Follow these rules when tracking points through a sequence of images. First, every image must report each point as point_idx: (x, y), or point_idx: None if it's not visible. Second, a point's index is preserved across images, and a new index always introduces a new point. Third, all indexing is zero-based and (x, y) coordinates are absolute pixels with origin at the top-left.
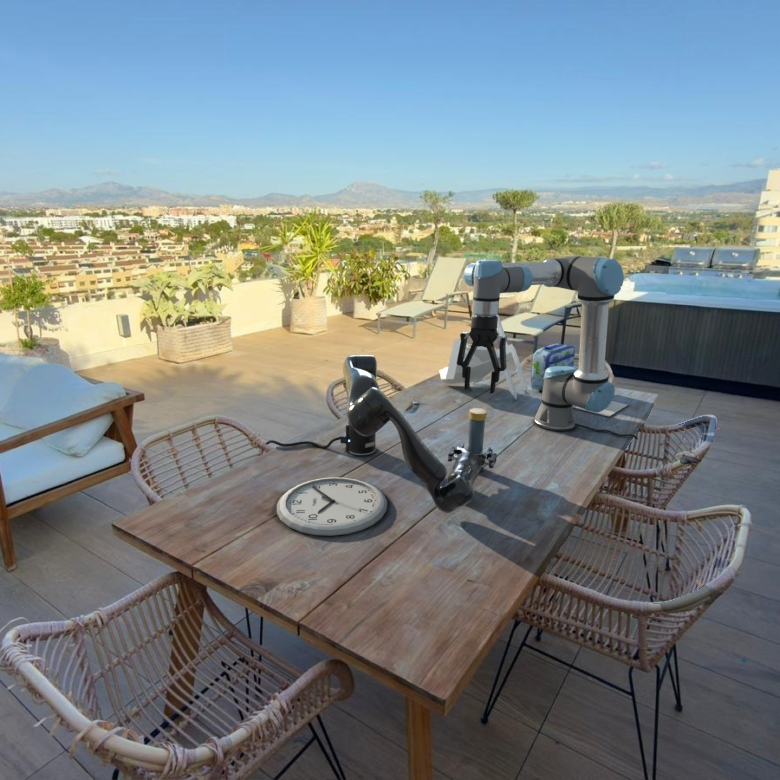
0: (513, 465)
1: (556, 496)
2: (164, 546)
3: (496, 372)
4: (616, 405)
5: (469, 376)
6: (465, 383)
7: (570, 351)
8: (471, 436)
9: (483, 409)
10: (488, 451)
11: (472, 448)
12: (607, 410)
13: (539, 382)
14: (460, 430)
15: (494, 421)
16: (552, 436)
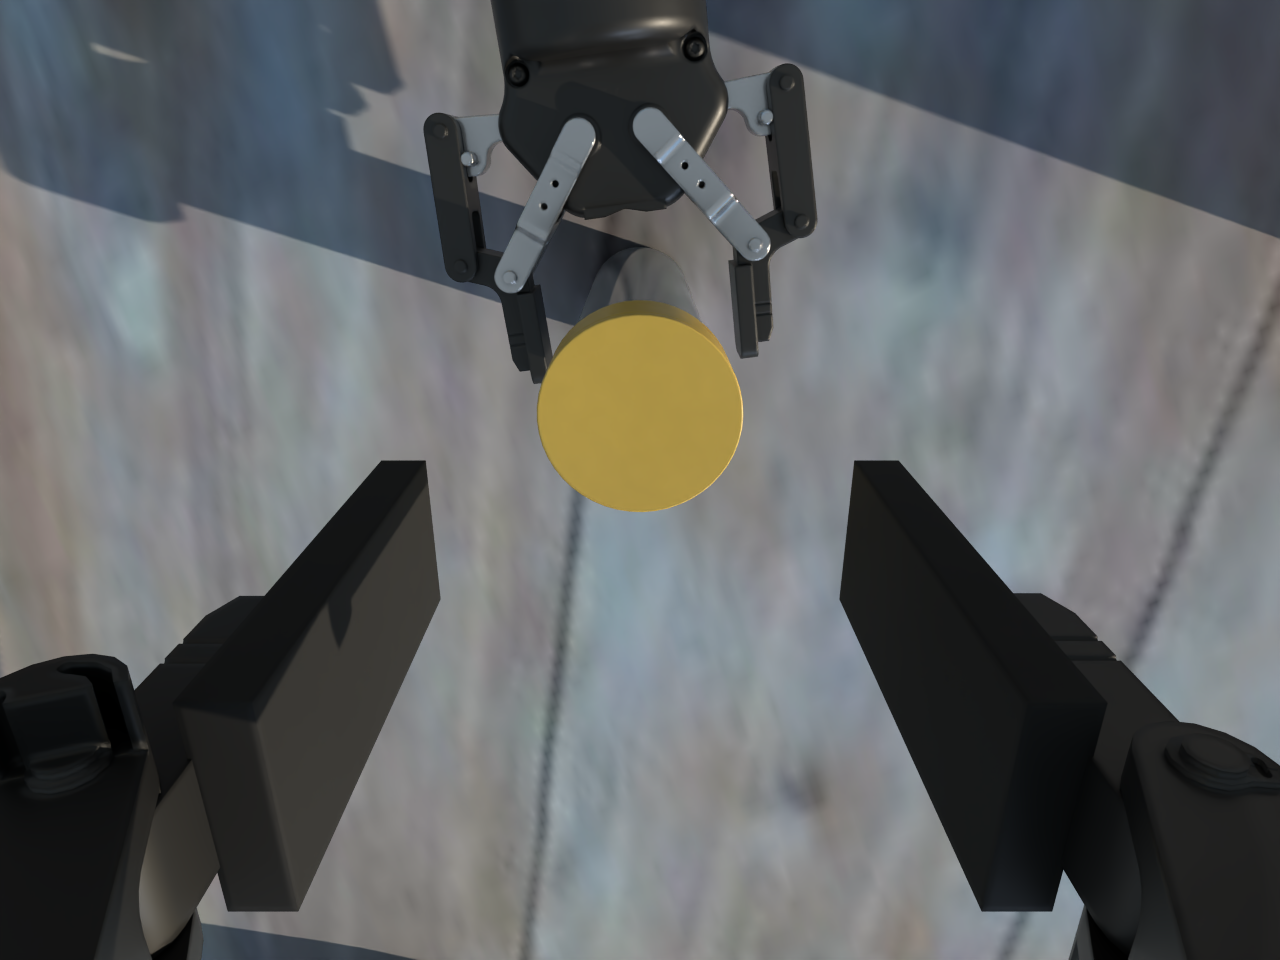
0: (439, 464)
1: (58, 167)
2: None
3: (39, 663)
4: None
5: (905, 693)
6: (917, 505)
7: None
8: (665, 286)
9: (600, 498)
10: (519, 287)
11: (646, 266)
12: None
13: None
14: (877, 775)
15: (727, 954)
16: (383, 904)
